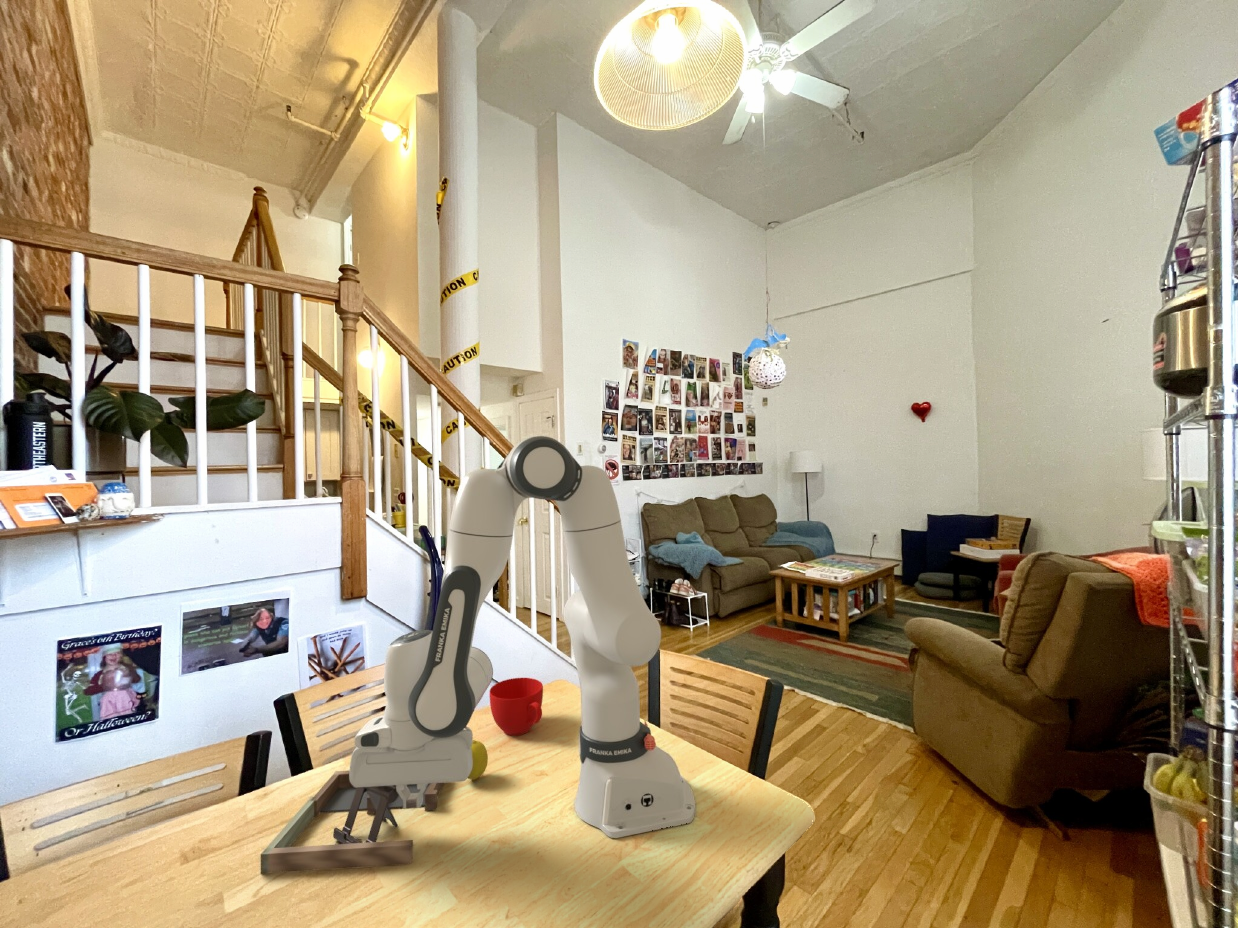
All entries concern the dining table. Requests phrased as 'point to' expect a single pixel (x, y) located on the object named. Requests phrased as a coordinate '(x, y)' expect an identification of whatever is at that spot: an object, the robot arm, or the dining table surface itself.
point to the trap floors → (346, 795)
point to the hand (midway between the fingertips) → (413, 806)
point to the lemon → (478, 760)
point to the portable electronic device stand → (380, 801)
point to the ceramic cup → (516, 704)
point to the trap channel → (337, 855)
